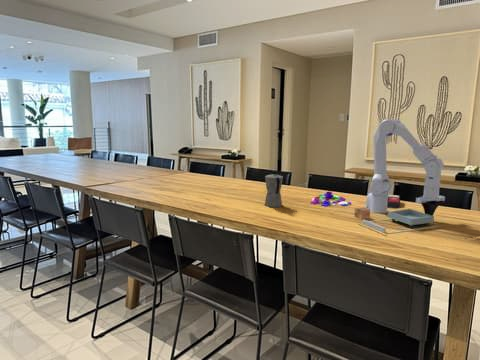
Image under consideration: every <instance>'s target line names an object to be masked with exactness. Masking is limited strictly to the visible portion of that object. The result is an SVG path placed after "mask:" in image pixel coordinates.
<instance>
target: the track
mask: <svg viewBox="0 0 480 360" xmlns="http://www.w3.org/2000/svg"><path fill="white" fill-rule="evenodd" d="M390 220H391V221H392V218H384V219H376V220H367V219H361V222H360V223H361V224H360V223H359V224H357V225H358V226H361V227H364V228H366V229H368V230H370V231H372V232H375V233H377V234H381V235H383V236H384V237H387V235H389V234H390V235H391V234H398V233H403V232H411V231H417V230H425V229H432V228H438V226H437V225H432V226H427V227H419V228H418V227H417V228H413V229H411V228H410V229H405V230H398V231H391V232H387V233H386V229H387V228H386V227H384V226H381V225H379V224H376V222H382V221H390ZM373 229H374V230H373ZM384 233H386V234H387V235H386V234H384Z"/></svg>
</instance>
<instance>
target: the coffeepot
mask: <svg viewBox="0 0 480 360" xmlns="http://www.w3.org/2000/svg"><path fill="white" fill-rule="evenodd" d="M283 177H284V176H282V175H279V174H276V170H273V171H272V174H268V175H265V176H264V179H265V187H266V194H265V195H266V196H265V200H264V206H265V207H268V208H280V207H282V205H283V202H282V194H281V190H282V185H283Z"/></svg>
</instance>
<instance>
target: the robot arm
mask: <svg viewBox="0 0 480 360" xmlns="http://www.w3.org/2000/svg"><path fill="white" fill-rule="evenodd" d="M393 135H394V136H399V137H401V138H402V140H403V141H405V142H406V143H407V145H408V146H410V148H412V150H413V151H412V154H413V155H414V157H416V158H417V160H418V161H419V162H420V163H421V165H424V166H423V168H424V171H425V177H424V186H423V195H422V196H419V197H415V203H416V204H421V205H422V208H423V211H424V212H423V213H425V214H428V215H432V216H434V213H435V212H436V210H437V208H438V207H439V206H440V202H441V201H442V202H445V200H446V196H444V195H440V187H441V179H442V178H441V177H442V170H443V169H444V162H443V159H441V158H438V156H437V155H436V154H434V153H433V152H432V151H431V150H430V149H431V148H430V147H429V145H425V144H421V143H420V142H419V141H418V139H416V137H415V136H414V135H413V134H412V132H411V131H410V130H409V129H408V128H407V126H406V125H405V124H404V123H402V122H401V120H399V119H396V118H393V119H391V118H386V119H383V120H382V121H381V122H380V123H378V126H377V129H376V131H375V133H374V135H373V163H374V165H373V170H374V173H373V174H374V175H373V177H372V179H371V183H370V185H369V186H370V187H369V191H370V192H369V193H368V194H367V195H366V201H365V208H368V209H370V212H372V213H375V214H386V213H388V207H387V204H388V195H389V192H390V190H391V188H392V184H391V182H390V178H389V175H388V174H387V170H388V169H387V140H388V139H389V138H390V137H392V136H393Z"/></svg>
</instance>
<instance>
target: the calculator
mask: <svg viewBox="0 0 480 360" xmlns="http://www.w3.org/2000/svg"><path fill="white" fill-rule="evenodd" d="M391 207H392V209H401V208H400V207H401V196H400V195H396V194H395V195H394V194H388V204H387V208H391Z"/></svg>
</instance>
